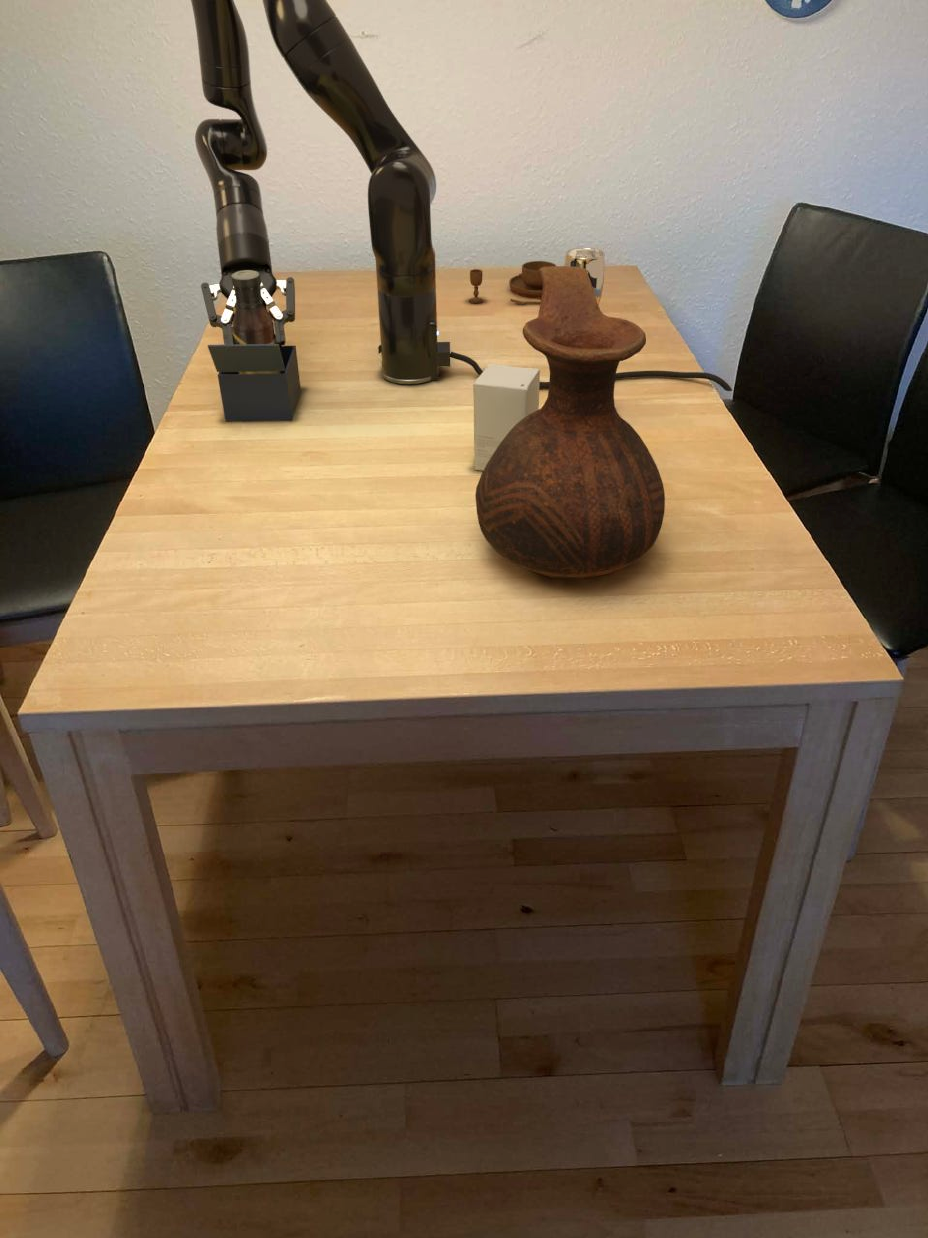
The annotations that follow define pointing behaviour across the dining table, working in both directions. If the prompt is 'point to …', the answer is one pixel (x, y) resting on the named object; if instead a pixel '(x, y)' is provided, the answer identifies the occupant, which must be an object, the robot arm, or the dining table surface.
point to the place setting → (517, 282)
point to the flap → (247, 357)
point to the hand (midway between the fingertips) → (256, 348)
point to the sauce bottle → (251, 313)
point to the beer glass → (589, 266)
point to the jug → (573, 449)
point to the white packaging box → (501, 406)
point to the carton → (262, 392)
